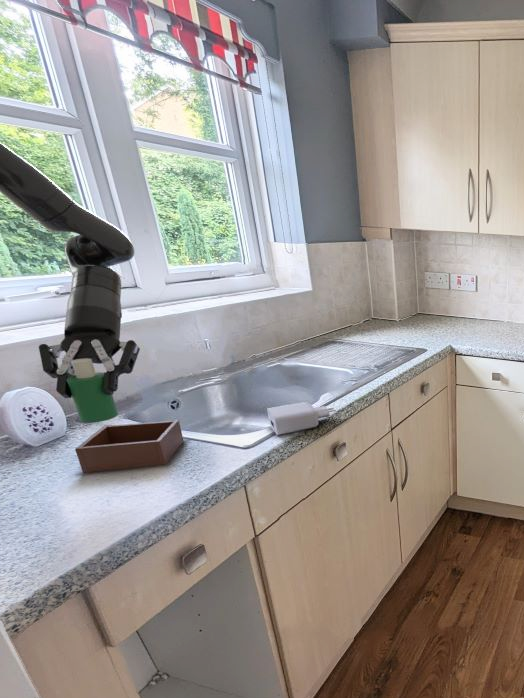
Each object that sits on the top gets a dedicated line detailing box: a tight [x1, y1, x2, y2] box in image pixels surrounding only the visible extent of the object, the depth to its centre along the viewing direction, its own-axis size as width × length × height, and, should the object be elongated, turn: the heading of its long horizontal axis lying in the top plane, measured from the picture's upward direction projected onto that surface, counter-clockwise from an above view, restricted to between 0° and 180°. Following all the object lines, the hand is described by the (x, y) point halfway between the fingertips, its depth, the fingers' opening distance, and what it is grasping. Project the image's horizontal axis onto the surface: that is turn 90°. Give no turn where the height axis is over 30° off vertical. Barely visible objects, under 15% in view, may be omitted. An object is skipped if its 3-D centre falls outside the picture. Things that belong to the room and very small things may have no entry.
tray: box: [74, 419, 185, 474], centre depth 96 cm, size 14×12×5 cm
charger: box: [266, 401, 337, 436], centre depth 116 cm, size 5×9×15 cm
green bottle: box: [66, 358, 119, 424], centre depth 82 cm, size 5×5×11 cm
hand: (87, 394), depth 81 cm, fingers closed on green bottle, 5 cm apart
